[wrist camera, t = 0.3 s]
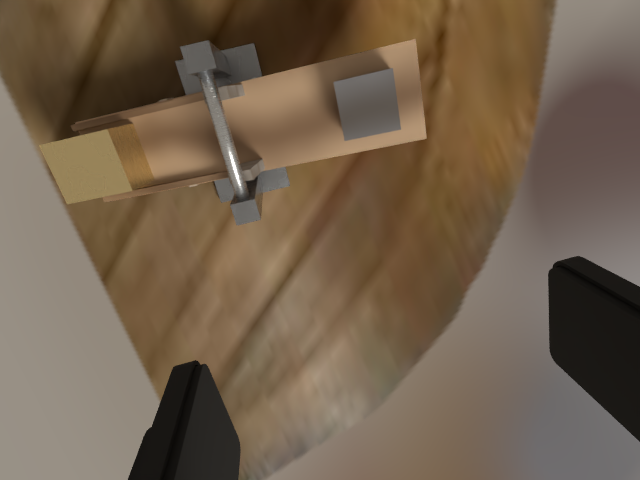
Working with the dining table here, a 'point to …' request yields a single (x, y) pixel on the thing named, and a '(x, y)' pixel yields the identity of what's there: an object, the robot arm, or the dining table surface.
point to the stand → (207, 75)
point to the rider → (98, 163)
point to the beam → (280, 119)
